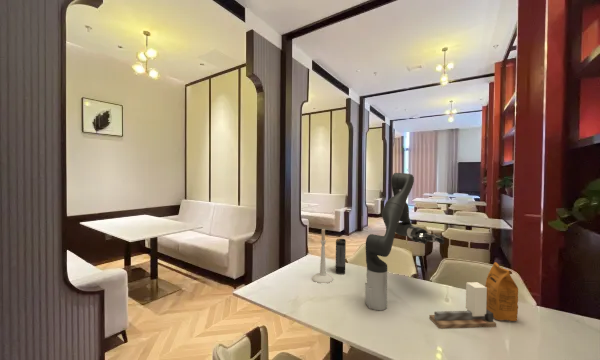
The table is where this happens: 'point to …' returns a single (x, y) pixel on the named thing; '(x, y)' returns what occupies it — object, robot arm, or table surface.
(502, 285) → the coffee package
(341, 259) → the electronic device
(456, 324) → the rail base
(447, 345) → the table surface
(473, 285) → the tall cream pillar
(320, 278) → the candlestick
